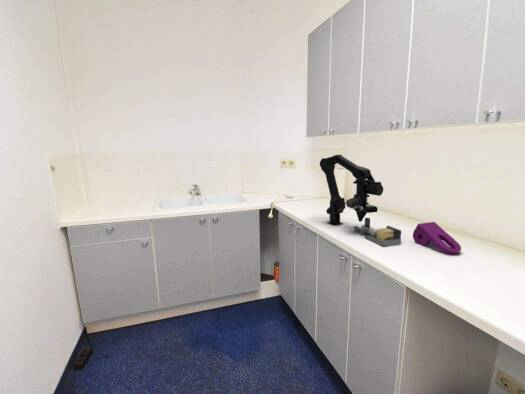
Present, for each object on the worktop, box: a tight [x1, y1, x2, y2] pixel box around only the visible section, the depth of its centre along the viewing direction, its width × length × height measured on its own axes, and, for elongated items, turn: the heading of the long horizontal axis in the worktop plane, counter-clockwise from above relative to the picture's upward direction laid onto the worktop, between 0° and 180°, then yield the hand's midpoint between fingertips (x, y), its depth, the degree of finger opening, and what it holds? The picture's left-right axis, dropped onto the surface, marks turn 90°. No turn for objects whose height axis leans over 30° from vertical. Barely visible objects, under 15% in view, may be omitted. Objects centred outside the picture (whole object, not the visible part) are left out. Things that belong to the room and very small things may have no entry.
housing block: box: [376, 227, 394, 241], centre depth 127 cm, size 5×5×5 cm
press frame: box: [352, 224, 402, 248], centre depth 134 cm, size 24×12×6 cm, turn 18°
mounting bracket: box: [412, 221, 462, 256], centre depth 120 cm, size 9×8×18 cm
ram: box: [361, 217, 378, 236], centre depth 134 cm, size 12×3×7 cm, turn 18°
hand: (360, 221), depth 143 cm, fingers closed
